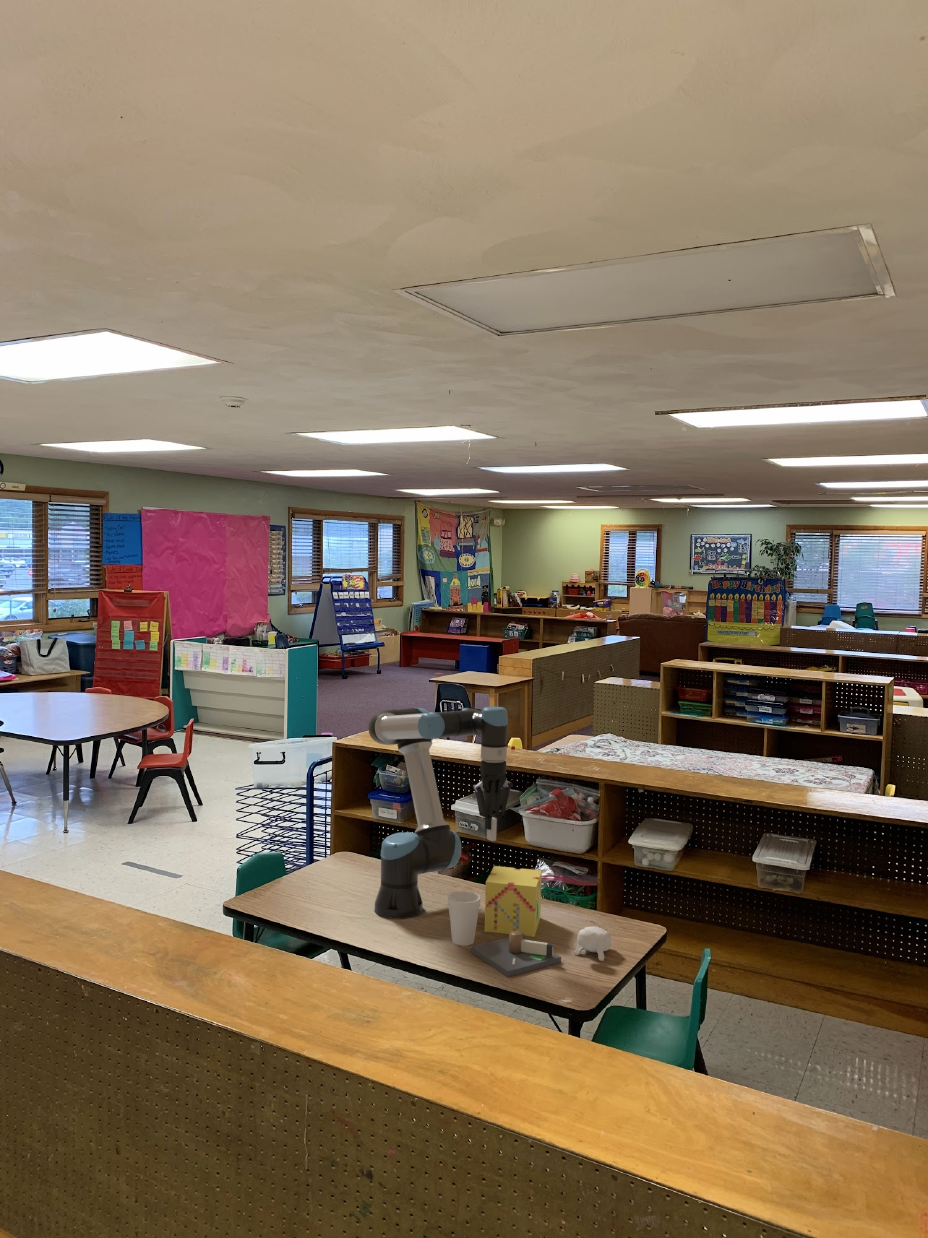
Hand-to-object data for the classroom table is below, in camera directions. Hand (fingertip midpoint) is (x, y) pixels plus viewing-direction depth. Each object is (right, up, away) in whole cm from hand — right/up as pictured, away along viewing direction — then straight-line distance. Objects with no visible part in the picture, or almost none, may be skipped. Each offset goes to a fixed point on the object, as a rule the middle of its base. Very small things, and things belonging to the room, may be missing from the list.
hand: (491, 839), depth 252 cm
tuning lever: (+10, -27, -15) cm, 33 cm away
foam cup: (-8, -29, -4) cm, 30 cm away
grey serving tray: (+6, -29, -13) cm, 33 cm away
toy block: (+7, -29, +10) cm, 31 cm away
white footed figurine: (+28, -30, -11) cm, 42 cm away
